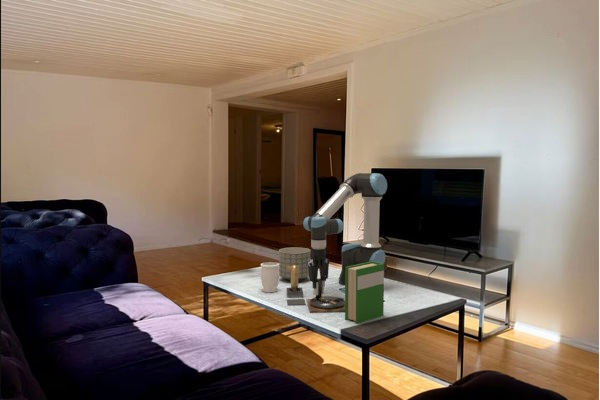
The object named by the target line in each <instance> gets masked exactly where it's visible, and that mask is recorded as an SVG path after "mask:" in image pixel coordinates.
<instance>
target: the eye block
mask: <svg viewBox="0 0 600 400" xmlns="http://www.w3.org/2000/svg"><path fill="white" fill-rule="evenodd" d="M285 288H286V291H285V292H286V299H287V298H288V299H291V298H292V299H296V298H304V290H303V287H300V286H298V291H291V287H285Z"/></svg>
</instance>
